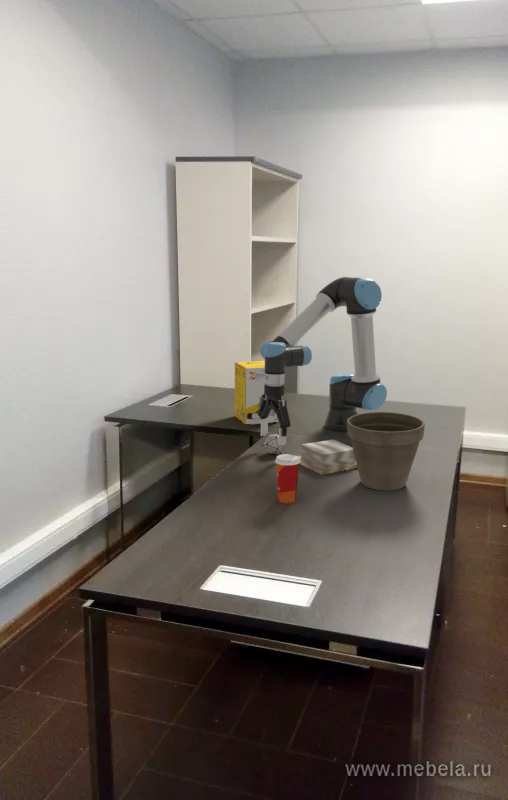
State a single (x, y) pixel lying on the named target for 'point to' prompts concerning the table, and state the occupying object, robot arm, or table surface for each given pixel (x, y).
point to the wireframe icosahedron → (272, 444)
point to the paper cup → (287, 477)
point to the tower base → (327, 457)
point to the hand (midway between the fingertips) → (273, 439)
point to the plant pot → (384, 447)
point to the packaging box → (250, 392)
